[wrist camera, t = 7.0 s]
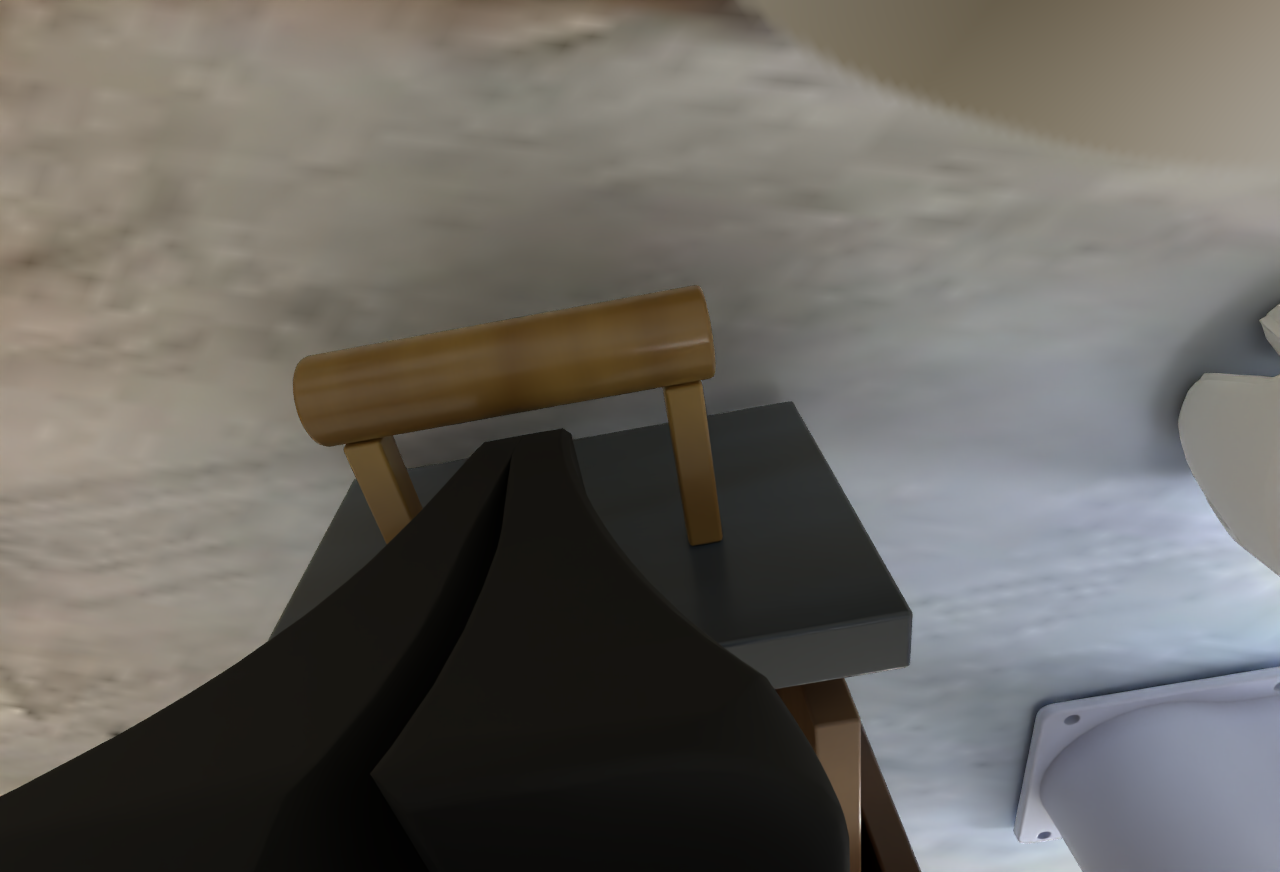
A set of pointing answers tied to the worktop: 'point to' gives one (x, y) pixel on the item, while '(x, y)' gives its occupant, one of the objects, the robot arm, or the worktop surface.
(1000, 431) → the worktop surface
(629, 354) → the drawer
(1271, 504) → the water bottle
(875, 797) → the cabinet
